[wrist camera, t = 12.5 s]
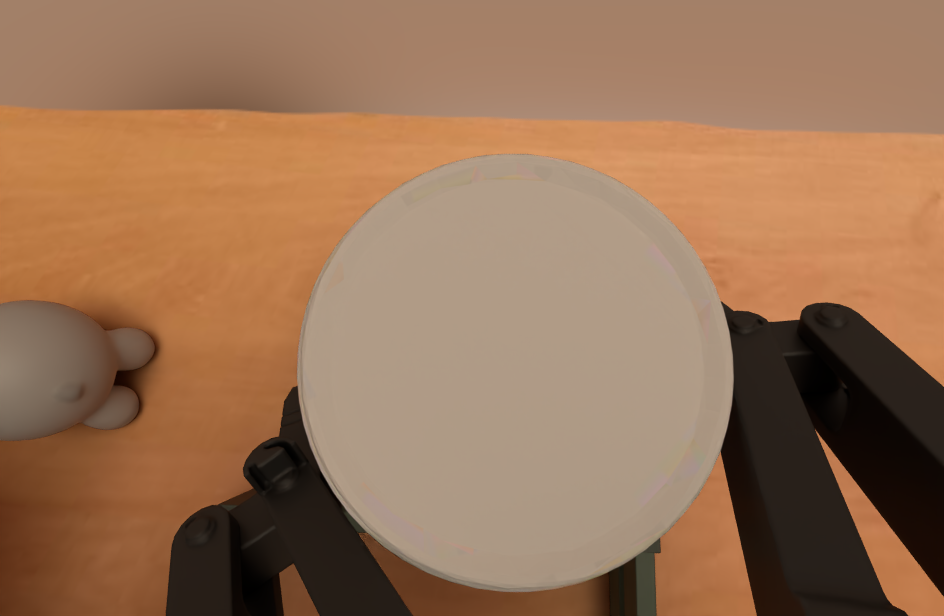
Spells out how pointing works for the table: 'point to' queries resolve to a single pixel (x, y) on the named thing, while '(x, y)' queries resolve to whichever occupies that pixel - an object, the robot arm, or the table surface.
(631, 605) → the frame
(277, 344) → the table surface
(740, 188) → the table surface
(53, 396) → the round bodied animal figurine
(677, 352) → the coffee cup
